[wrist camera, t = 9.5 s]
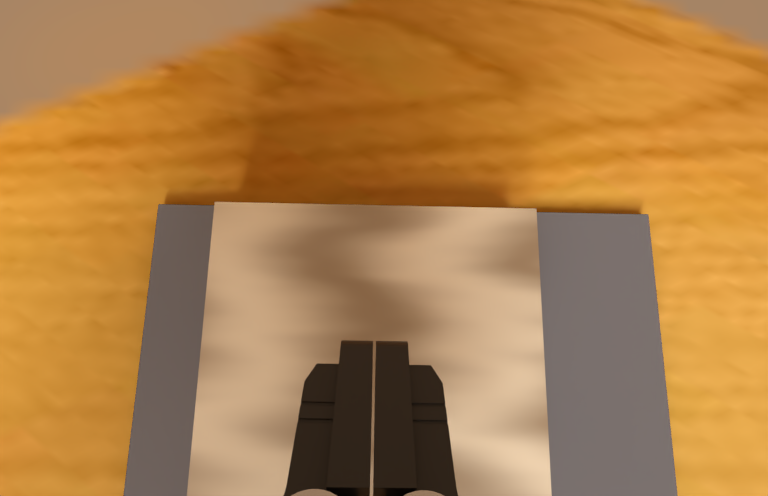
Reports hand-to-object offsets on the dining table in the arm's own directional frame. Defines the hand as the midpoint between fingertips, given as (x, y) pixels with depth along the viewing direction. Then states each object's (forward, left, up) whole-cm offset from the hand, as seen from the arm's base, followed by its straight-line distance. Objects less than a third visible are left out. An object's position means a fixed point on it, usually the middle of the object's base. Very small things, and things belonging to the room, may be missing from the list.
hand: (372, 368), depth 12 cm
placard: (0, +9, -4) cm, 10 cm away
